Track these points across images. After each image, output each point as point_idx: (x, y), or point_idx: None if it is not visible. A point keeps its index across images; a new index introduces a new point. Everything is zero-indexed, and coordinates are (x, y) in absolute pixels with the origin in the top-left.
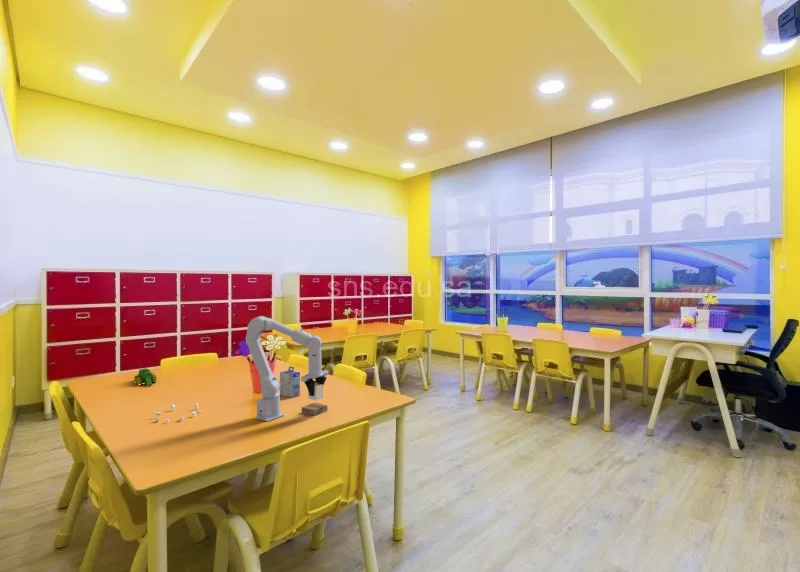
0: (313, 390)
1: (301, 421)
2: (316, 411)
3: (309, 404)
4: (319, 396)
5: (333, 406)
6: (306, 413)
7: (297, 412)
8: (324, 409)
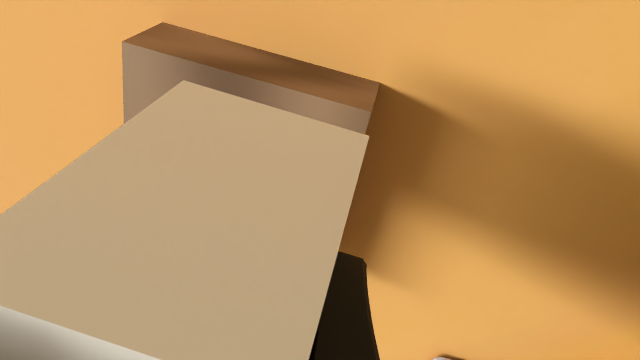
0: (351, 353)
1: (594, 141)
2: (337, 90)
3: None
4: (264, 137)
5: (13, 34)
6: None
7: None
8: (197, 45)
